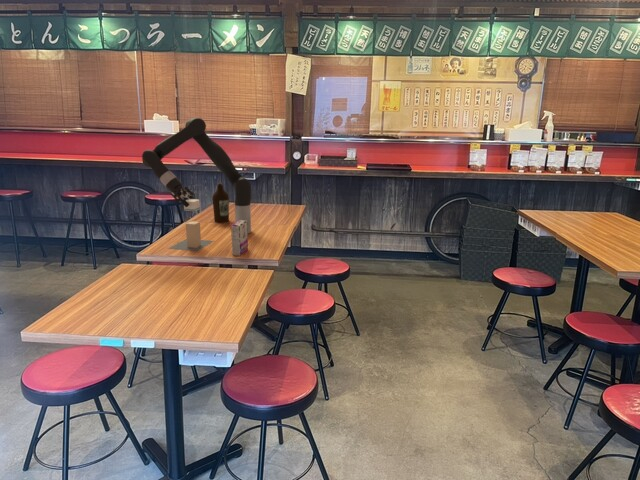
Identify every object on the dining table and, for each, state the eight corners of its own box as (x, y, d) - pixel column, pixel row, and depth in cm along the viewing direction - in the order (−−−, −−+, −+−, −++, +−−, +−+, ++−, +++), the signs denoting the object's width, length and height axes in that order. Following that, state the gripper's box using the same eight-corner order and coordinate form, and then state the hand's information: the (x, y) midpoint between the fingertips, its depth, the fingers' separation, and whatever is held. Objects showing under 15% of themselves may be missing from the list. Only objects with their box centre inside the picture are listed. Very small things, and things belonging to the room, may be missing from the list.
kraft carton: (192, 244, 267) (190, 221, 263) (201, 245, 265) (199, 221, 262) (187, 247, 261) (185, 223, 258) (196, 247, 260) (195, 224, 257)
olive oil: (210, 220, 323) (208, 183, 316) (224, 218, 330) (222, 181, 323) (219, 223, 315) (217, 185, 308) (233, 221, 322) (231, 183, 315)
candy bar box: (239, 249, 262) (238, 219, 258) (248, 250, 261) (247, 220, 257) (231, 255, 252) (230, 224, 247) (240, 256, 251) (239, 225, 246)
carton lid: (189, 208, 261) (189, 198, 260) (200, 208, 260) (199, 199, 259) (183, 210, 256) (183, 201, 254) (194, 211, 254) (194, 201, 253)
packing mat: (186, 240, 277) (186, 238, 277) (214, 242, 273) (214, 241, 273) (168, 250, 259) (168, 248, 258) (197, 253, 255) (197, 251, 255)
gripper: (167, 178, 248) (189, 202, 249) (181, 175, 262) (202, 197, 262) (159, 188, 251) (180, 211, 252) (173, 184, 264) (194, 206, 265)
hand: (191, 204), depth 257 cm, fingers open, 8 cm apart
